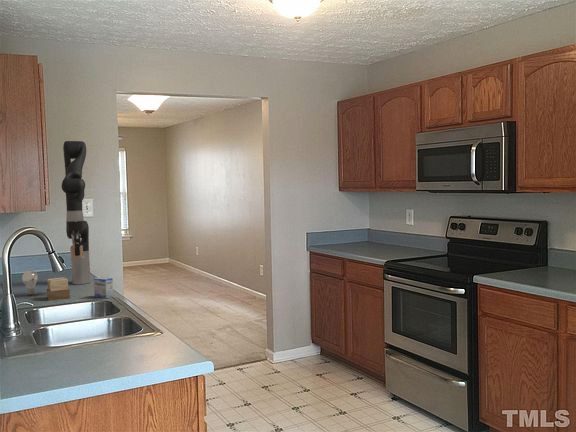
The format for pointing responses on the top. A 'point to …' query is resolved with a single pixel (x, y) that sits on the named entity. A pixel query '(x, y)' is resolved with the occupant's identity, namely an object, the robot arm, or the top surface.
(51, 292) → the tower bottom
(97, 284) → the medicine box
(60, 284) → the tower top
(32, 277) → the light bulb
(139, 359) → the top surface
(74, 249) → the cube
